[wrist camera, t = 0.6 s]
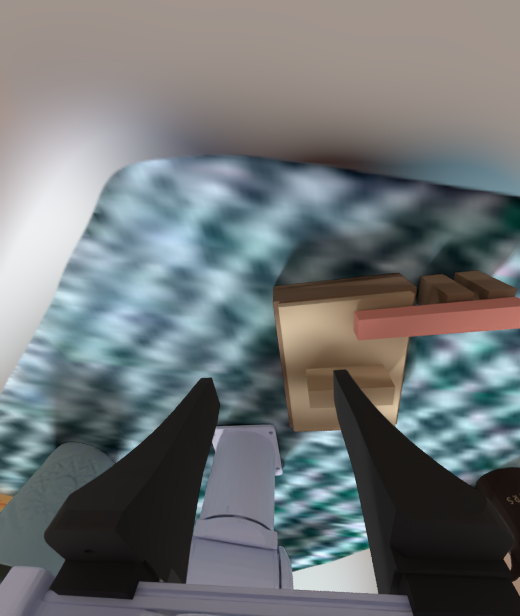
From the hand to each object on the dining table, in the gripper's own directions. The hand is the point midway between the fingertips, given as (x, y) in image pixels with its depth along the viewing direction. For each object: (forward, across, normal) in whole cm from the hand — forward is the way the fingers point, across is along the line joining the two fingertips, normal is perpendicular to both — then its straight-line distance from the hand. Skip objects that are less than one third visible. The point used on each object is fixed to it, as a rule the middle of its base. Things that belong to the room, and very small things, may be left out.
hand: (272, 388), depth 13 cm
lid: (+7, -5, +5) cm, 10 cm away
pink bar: (+6, -11, 0) cm, 12 cm away
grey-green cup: (+10, +30, +22) cm, 39 cm away
